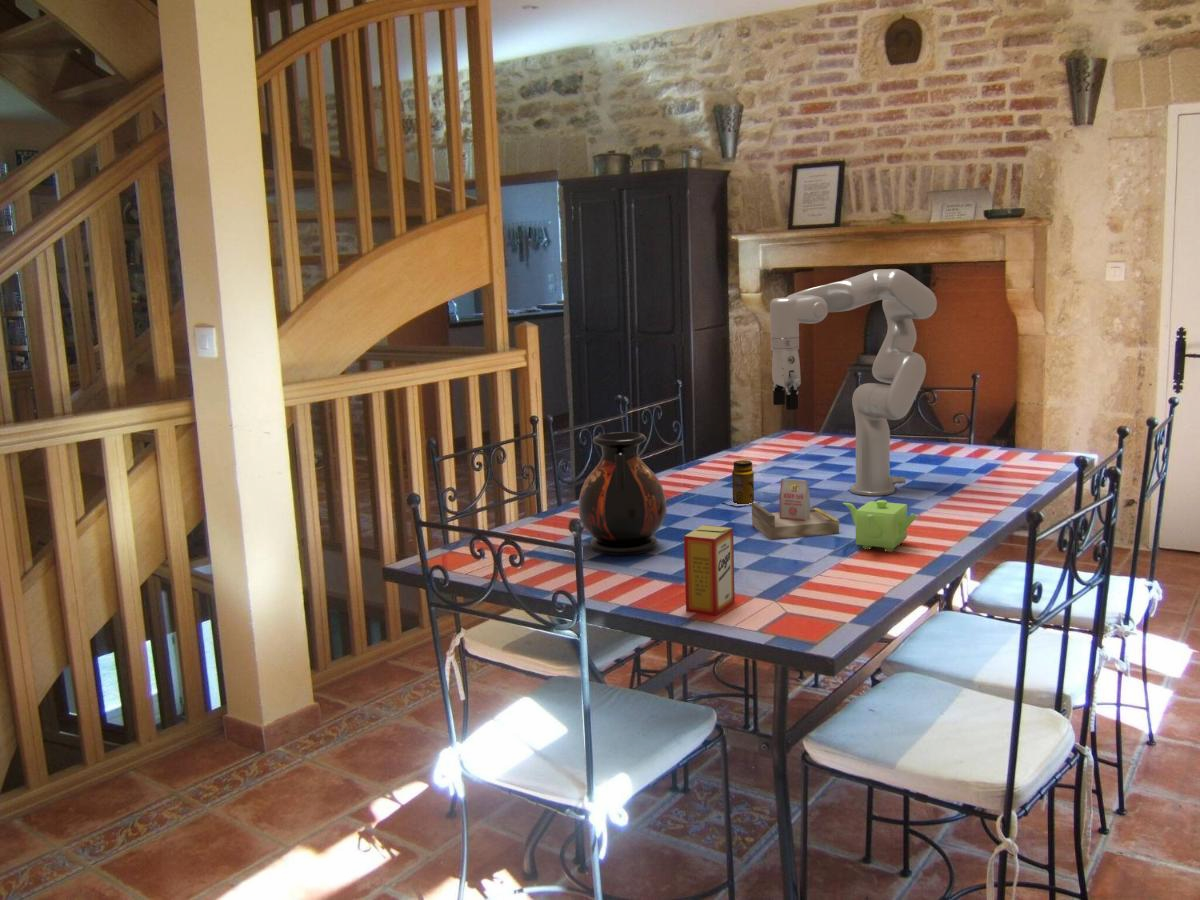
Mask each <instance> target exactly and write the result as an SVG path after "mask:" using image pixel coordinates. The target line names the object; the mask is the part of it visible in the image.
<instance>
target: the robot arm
mask: <svg viewBox="0 0 1200 900" xmlns="http://www.w3.org/2000/svg"><path fill="white" fill-rule="evenodd" d="M881 300H882V302H881V303H882V311H883V312H884V315H885V319H886V323H887V324H886V325H887V332H886V335H885V338H884V340H883V342H882V345H881V347H880V348H879V350H878V352H877V355H876V357H875V359H874V361H873V364H872V367H871V373H872V376H873V378H874V379H875V380H877V381H879V382H881V383H873V382H870V383H869V382H868V383H867V382H866V383H863V384H860V385H859V386H858V387H857V388H855V390H854V392H853V393H852V399H851V403H852V411H853V414H854V421H855V484H852V485H850V487H849V488H850V489H849V490H850V492H851V493H852V494H856V495H859V496H868V497H869V496H870V497H871V496H872V497H875V496H877V497H879V496H887V495H891V494H894V493H895V492H896V487H895V485H896V484H897V485H898V484H899V485H901V484H906V477H905V476H899V477H897V476H893V475H890V467H891V465H890V464H891V463H890V462H891V461H890V460H891V459H890V458H891V456H890V452H891V450H890V447H891V429H890V427H889V426H890V425H889V423H888V420H893V421H897V420H900V419H903V418H904V417H906V416H907V414H908V413H909V411H910V409H911V408H912V406H913V404H914V401H915V400H916V398H917V395H918V394H919V391H920V389H921V388H922V384H923V383H924V381H925V378H926V377H925V376H926V375H927V365H926V361H925V359H924V357H923V356H922V355H921V354H919V353H917V352H915V351H913V350H914V348H915V346H916V342H917V339H918V338H917V330H916V327H915V323H914V321H913V320H925V319H928V318H930V317H932V315H933V314H935V312H936V310H937V305H938V302H937V297H936V295H935V293H934V292H933V291H932V290H931V289H930V288H929V287H927V286H926V285H924V283H922V282H921V281H919V280H918V279H916V278H915V277H914V276H912V275H910V274H909V273H908V272H907V271H904V270H901V269H898V268H887V269H885V268H881V269H873V270H870V271H869V270H868V271H867V272H863V273H861V274H858V275H856V276H851V277H848V278H846V279H845V278H844V279H843V280H840V281H834V282H830V283H828V284H823V285H819V286H815V287H811V288H807V289H803V290H800V291H798V292H794V293H792V294H789V295H786V297H777V298H776V297H775V298H773V299H771V301H770V303H769V313H770V314H769V315H770V316H769V318H770V319H769V320H770V321H769V322H770V323H769V326H770V350H771V351H772V357H771V358H772V360H771V361H772V363H771V376H772V377H771V379H772V381H771V383H772V392H773V394H772V395H773V396H772V398H773V401H772V402H773V403H772V404H773V406H781V405H785V409H786V410H787V411H794V410H797V409H799V398H798V397H799V387H800V386H801V383H802V382H801V379H802V378H801V365H800V363H801V362H800V355H799V354H800V353H799V350H800V329H799V328H800V327H799V326H800V325H799V324H811V325H813V324H818V323H820V322H822V321H823V320H824V319H825V318H826V317H827V316H828V314H829V313H837V312H838V313H841V312H847V311H852V310H855V309H857V308H860V307H863V306H866V305H868V304H871V303H875V302H878V301H881ZM883 383H886V384H883ZM889 384H890V385H889ZM784 388H785V389H784Z"/></svg>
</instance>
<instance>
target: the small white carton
mask: <svg viewBox="0 0 1200 900" xmlns="http://www.w3.org/2000/svg"><path fill="white" fill-rule="evenodd" d="M808 483H809V482H808V480H804V479H792V478H781V483H780V490H779V501H778V502H779V512H780V518H781V519H791V520H801V521H805V520H807V519H808V518H810V510H811V494H810V488H809V484H808Z"/></svg>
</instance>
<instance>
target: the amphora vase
mask: <svg viewBox="0 0 1200 900" xmlns="http://www.w3.org/2000/svg"><path fill="white" fill-rule="evenodd" d="M592 441H593V443H594V444H596V445H597V446H599V447H600V448H601V453H602V456H601V458H600V459H599V462H598V463H597V465H596V466H595V467H594V469H593V470H592V471H590V473H589V474H588V475H587V477H586V479H585V480H584V483H583V484H582V487H581V489H580V493H579V500H578V506H577V507H578V515H579V519H580V521H582V522H583V524H582V526H583V525H584V526H583V528H584V529H585V530H586V531H587V532H588V533H589V535H590V536H592V539H591V541H590V547H591V549H592V550H594V551H595V552H597V553H599V552H600V553H599V554H602V555H609V556H633V555H634V556H635V555H639V554H643V553H646V552H649V551H651V550H653V549H655V548H656V546H657V544H658V539H657V538H656V536H655V534H656V533H657V532H658V531H659V530H660V528H661V526H662V525H663V523H664V521H665V518H666V515H667V500H666V494H665V491H664V489H663V484H662V483H661V482H660V480H659V478H658V477H657V475H656V473H655V472H654V471H652V470H651V469H650V468H649V467H648V465H646V463H645V462H644V461H643V460H642V458H641V457H640V455H639V448H640V447H639V446H640V445H641V444H642V443H644V442H646V441H647V437H646V436H645V434H643V433H640V432H633V431H632V432H631V431H617V432H607V433H602V434H599V435H596V436H594V437H593V439H592ZM582 522H581V523H582Z"/></svg>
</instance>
